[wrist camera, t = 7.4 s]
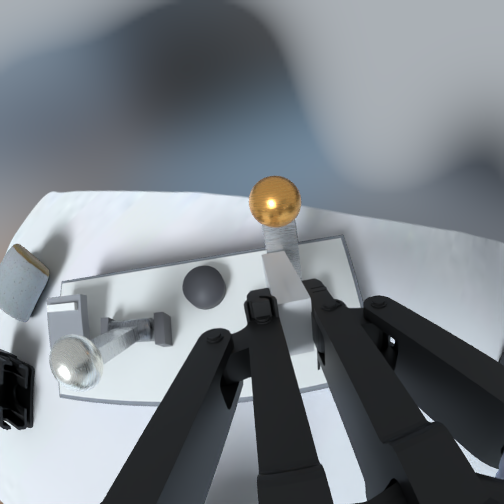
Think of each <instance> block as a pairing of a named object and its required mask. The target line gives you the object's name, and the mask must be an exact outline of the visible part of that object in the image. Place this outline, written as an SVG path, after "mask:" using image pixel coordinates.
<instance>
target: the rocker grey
mask: <svg viewBox="0 0 504 504" xmlns="http://www.w3.org/2000/svg"><path fill="white" fill-rule="evenodd" d="M47 316H48V329H49V339H50V347H51V349H52V346H53V345H54V343H55V342H56V341H57V340H58V339H59V338H61V337H63V336H65V335H69V334H77V335H81V336H84V337H86V338H87V339H89V340H91V338H90V330H89V319H88V307H87V295H83V294H76V295H68V296H60V297H52V298H47Z"/></svg>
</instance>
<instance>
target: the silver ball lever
mask: <svg viewBox="0 0 504 504" xmlns="http://www.w3.org/2000/svg"><path fill="white" fill-rule="evenodd" d="M149 341H155V336H154V319H153V318H141V319H131V320H119V321H110V322H109V324H108V327H107V332H106V333H104V334H102V335H100V336H98V337H96V338H94V339H92V340H89V339H87V338H86V337H84V336H81V335H77V334H69V335H65V336H63V337H61V338H59V339H58V340H57V341H56V342H55V343H54V345H53V346H52V349H51V351H50V356H49V361H50V367H51V370H52V373H53V375H54V377H55V378H56V379H57V381H58V382H59V383H60V384H61V385H62V386H64V387H65V388H67V389H69V390H72V391H75V392H85V391H88V390H91V389H92V388H94V387H95V386H96V385H97V384H98V383H99V381H100V380H101V378H102V375H103V369H104V364H105V363H107V362H108V361H110V360H111V359H113V358H114V357H115V356H117V355H118V354H120V353H121V352H123V351H124V350H126V349H127V348H128V347H130V346H131V345H133V344H134V343H136V342H149Z"/></svg>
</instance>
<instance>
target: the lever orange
mask: <svg viewBox="0 0 504 504" xmlns="http://www.w3.org/2000/svg"><path fill="white" fill-rule="evenodd" d="M249 207H250V211H251V213H252V215H253V216H254V218H255V219H256V220H257V221H258V222H259V223H261V224H262V229H263V235H264V241H265V248H266V254H268V253H274V252H280V251H285V253H286V255H287V257H288V258H289V260H290V262H291V264H292V265H293V267H294V269H295V271H296V273H297V274H298V276H299V278H300V280H301V281H302V275H301V265H300V256H299V247H298V239H297V231H296V223H295V218H296V217H297V215H298V214H299V211H300V208H301V196H300V193H299V190H298V189H297V187H296V186H295V185H294V184H293V183H292V182H291V181H290V180H288V179H286V178H284V177H281V176H270V177H266V178H263V179H261V180H260V181H259V182H257V183H256V185H255V186H254V187H253V189H252V190H251V193H250V196H249Z"/></svg>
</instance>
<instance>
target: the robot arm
mask: <svg viewBox="0 0 504 504" xmlns="http://www.w3.org/2000/svg"><path fill="white" fill-rule="evenodd" d="M261 256H262V262H263V268H264V275H265V281H266V287H267V288H263V289H258V290H252V291H250V292H249V293H248V294H247V300H246V301H245V302H244V310H245V314H246V319H247V326H246V327H245V328H243V329H242V330H240V331H238V332H236V333H233V334H231V333H230V331H229V330H227V329H224V328H214V329H210V330H208V331H206V332H204V333H202V335H201V336H200V337H199V338H198V340H197V342H196V343H195V345H194V347H193V348H192V350H191V352H190V353H189V355H188V357H187V359H186V360H185V362H184V364H183V365H182V367H181V369H180V370H179V372H178V374H177V376H176V377H175V379H174V381H173V382H172V384H171V386H170V387H169V389H168V391H167V393H166V394H165V396H164V398H163V399H162V401H161V403H160V404H159V406H158V408H157V410H156V411H155V413H154V415H153V416H152V418H151V420H150V421H149V423H148V425H147V427H146V428H145V430H144V432H143V433H142V435H141V437H140V438H139V440H138V442H137V444H136V445H135V447H134V449H133V450H132V452H131V454H130V455H129V457H128V459H127V461H126V462H125V464H124V466H123V467H122V469H121V471H120V473H119V474H118V476H117V478H116V479H115V481H114V483H113V485H112V486H111V488H110V490H109V491H108V493H107V495H106V497H105V498H104V500H103V502H101V503H100V504H204V502H205V499H206V497H207V494H208V491H209V488H210V485H211V482H212V480H213V477H214V474H215V471H216V468H217V465H218V462H219V459H220V456H221V453H222V450H223V447H224V444H225V441H226V438H227V435H228V432H229V429H230V426H231V422H232V419H233V416H234V413H235V410H236V407H237V403H238V400H239V397H240V394H241V391H242V387H243V380H245V379H247V378H250V377H251V380H252V393H253V405H254V417H255V429H256V441H257V453H258V464H259V475H258V476H257V489H258V501H259V504H333V500H332V496H331V493H330V489H329V485H328V481H327V478H326V474H325V471H324V468H323V466H322V465H321V464H320V462H319V460H318V456H317V453H316V449H315V445H314V441H313V438H312V434H311V430H310V426H309V423H308V419H307V415H306V412H305V408H304V404H303V401H302V397H301V393H300V390H299V386H298V382H297V379H296V375H295V371H294V368H293V364H292V361H291V357H290V356H293V355H298V354H303V353H307V352H312V351H314V343H315V346H316V348H317V367H318V370H320V366H321V368H322V371H323V373H324V376H325V378H326V381H327V383H328V386H329V388H330V391H331V393H332V396H333V398H334V401H335V403H336V406H337V409H338V411H339V414H340V416H341V419H342V422H343V424H344V427H345V429H346V432H347V435H348V437H349V440H350V442H351V445H352V448H353V450H354V453H355V456H356V458H357V461H358V464H359V467H360V469H361V472H362V475H363V477H364V481H365V487H366V498H367V501H366V502H363V503H355V504H504V352H503V355H502V357H501V360H500V362H497V361H496V360H494V359H492V358H491V357H489V356H488V355H486V354H484V353H483V352H481V351H479V350H478V349H476V348H474V347H473V346H471V345H470V344H468V343H466V342H465V341H463V340H461V339H460V338H458V337H456V336H454V335H453V334H451V333H449V332H448V331H446V330H444V329H443V328H441V327H439V326H438V325H436V324H434V323H432V322H431V321H429V320H427V319H426V318H424V317H422V316H420V315H419V314H417V313H415V312H413V311H412V310H410V309H408V308H406V307H405V306H403V305H401V304H399V303H398V302H396V301H394V300H392V299H390V298H388V297H385V296H380V295H379V296H373V297H369V298H368V299H366V300H365V301H364V303H363V308H348V307H347V306H346V304H345V303H344V302H343V301H341V300H338V299H334V298H333V297H332V296H331V294H330V293H329V291H328V290H327V289H326V287H325V286H324V284H323V283H322V282H321V281H320V280H317V279H315V278H313V279H308V280H303V281H301V280H300V278H299V276H298V274H297V273H296V271H295V269H294V267H293V265H292V264H291V262H290V260H289V258H288V257H287V255H286V253H285V251H280V252H274V253H268V254H263V255H261ZM390 337H392V338H393V339H394V340H395V344H393V343H392V342H390ZM418 407H419V408H420V409H421V410H422V411H423V412H425V413H426V414H427V415H428V416H429V417H430V418H431V419H433V420H434V421H435V422H432V423H430V422H428V421H427V420H426V419H425V417H424V416H423V414H422V412H421V411H420V409H419V408H418ZM454 439H455V440H456V441H457V442H459V443H460V444H461V445H462V446H463V447H464V448H465V449H467V450H468V451H469V452H470V453H471V454H472V455H474V456H475V457H476V458H478V459H479V460H480V461H482V462H484V463H485V464H487V465H489V466H491V467H494V468H496V469H499V470H498V472H497V473H496V477H495V478H494V477H490V476H486V475H482V474H479V473H475V472H474V470H473V468H472V467H471V465H470V463H469V462H468V460H467V458H466V457H465V455H464V454H463V452H462V451H461V449H460V447H459V446H458V444H457V443H456V441H455V440H454Z"/></svg>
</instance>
